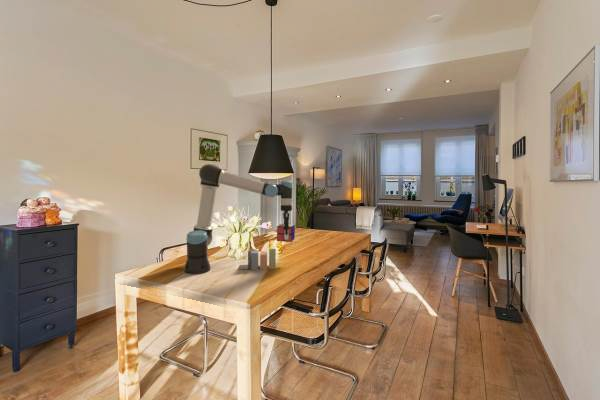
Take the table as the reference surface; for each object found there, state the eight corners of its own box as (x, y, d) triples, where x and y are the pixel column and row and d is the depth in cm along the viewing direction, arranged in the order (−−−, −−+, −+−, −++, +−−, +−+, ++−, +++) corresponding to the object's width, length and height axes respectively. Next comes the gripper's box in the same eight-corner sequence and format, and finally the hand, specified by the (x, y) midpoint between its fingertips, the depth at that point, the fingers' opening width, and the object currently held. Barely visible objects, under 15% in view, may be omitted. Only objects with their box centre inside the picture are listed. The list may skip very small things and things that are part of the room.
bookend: (238, 269, 197) (238, 251, 196) (239, 265, 206) (239, 248, 205) (250, 269, 198) (250, 251, 197) (251, 265, 206) (251, 248, 206)
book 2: (260, 269, 198) (260, 254, 198) (260, 265, 206) (260, 251, 206) (266, 269, 199) (266, 254, 198) (267, 265, 207) (267, 251, 206)
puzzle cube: (291, 242, 207) (292, 226, 206) (276, 241, 208) (276, 226, 208) (294, 239, 217) (295, 224, 216) (280, 238, 218) (280, 223, 218)
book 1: (251, 269, 199) (251, 253, 198) (252, 265, 206) (252, 250, 205) (257, 269, 199) (257, 253, 198) (258, 265, 206) (258, 250, 205)
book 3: (269, 268, 199) (269, 251, 198) (269, 265, 206) (269, 248, 205) (275, 268, 200) (275, 251, 199) (275, 265, 207) (275, 248, 206)
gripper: (293, 206, 199) (292, 241, 201) (291, 203, 223) (290, 234, 224) (281, 206, 199) (280, 241, 200) (280, 203, 222) (279, 234, 224)
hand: (285, 237), depth 212 cm, fingers closed on puzzle cube, 11 cm apart
